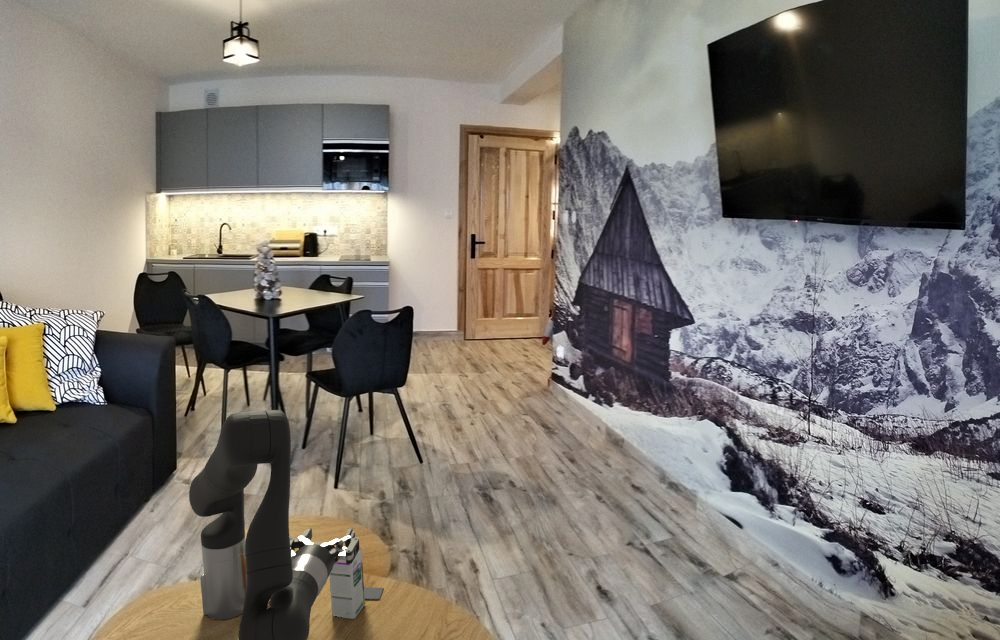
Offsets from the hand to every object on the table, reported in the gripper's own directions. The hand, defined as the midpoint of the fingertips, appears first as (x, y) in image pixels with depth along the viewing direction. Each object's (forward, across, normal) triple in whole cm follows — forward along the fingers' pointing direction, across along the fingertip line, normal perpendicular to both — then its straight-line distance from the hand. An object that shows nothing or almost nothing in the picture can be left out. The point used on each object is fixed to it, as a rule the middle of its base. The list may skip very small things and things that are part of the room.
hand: (330, 532), depth 135 cm
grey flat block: (+18, -2, +25) cm, 31 cm away
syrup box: (+11, 0, +25) cm, 28 cm away
